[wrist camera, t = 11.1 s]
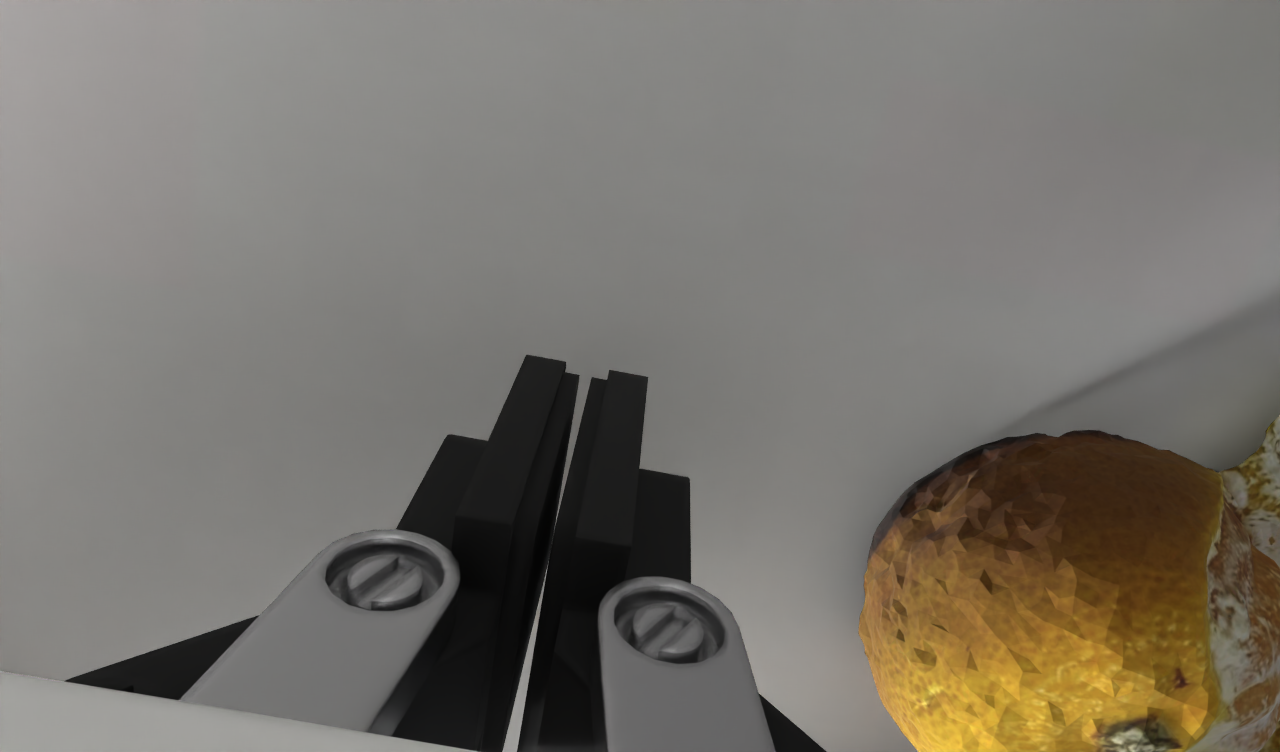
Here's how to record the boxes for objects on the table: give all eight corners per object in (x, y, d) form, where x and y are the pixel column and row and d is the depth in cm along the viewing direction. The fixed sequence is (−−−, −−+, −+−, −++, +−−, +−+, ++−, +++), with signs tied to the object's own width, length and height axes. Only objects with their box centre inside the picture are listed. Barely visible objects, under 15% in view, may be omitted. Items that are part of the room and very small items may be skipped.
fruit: (1286, 779, 15) (1452, 995, 12) (820, 751, 16) (857, 955, 12) (1479, 351, 12) (1784, 483, 9) (886, 323, 12) (961, 442, 9)
